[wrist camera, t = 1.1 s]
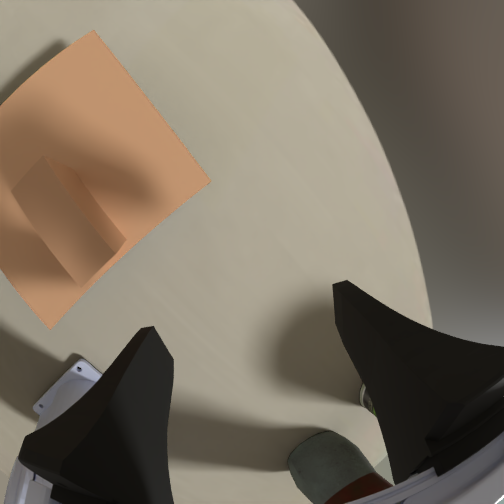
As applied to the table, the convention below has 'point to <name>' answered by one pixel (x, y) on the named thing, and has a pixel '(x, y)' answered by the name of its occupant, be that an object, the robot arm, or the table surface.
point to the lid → (82, 175)
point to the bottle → (333, 470)
